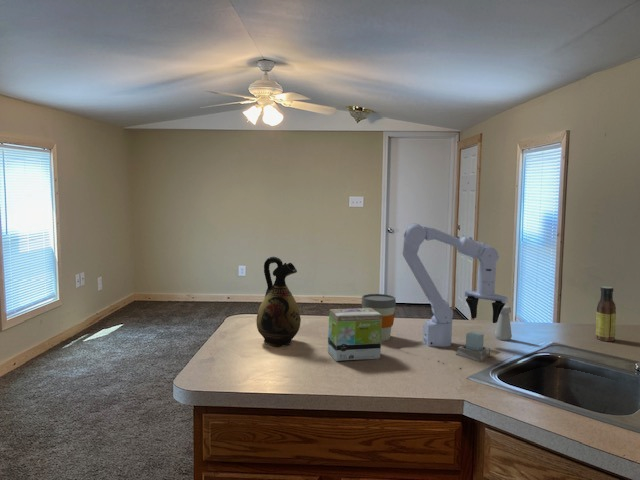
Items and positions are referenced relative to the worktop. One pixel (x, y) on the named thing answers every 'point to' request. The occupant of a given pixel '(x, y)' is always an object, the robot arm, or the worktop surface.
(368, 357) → the tea box
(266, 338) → the ceramic jug
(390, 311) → the reusable coffee cup
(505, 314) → the salt shaker
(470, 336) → the peg
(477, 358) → the board
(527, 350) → the worktop surface
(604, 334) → the sauce bottle
